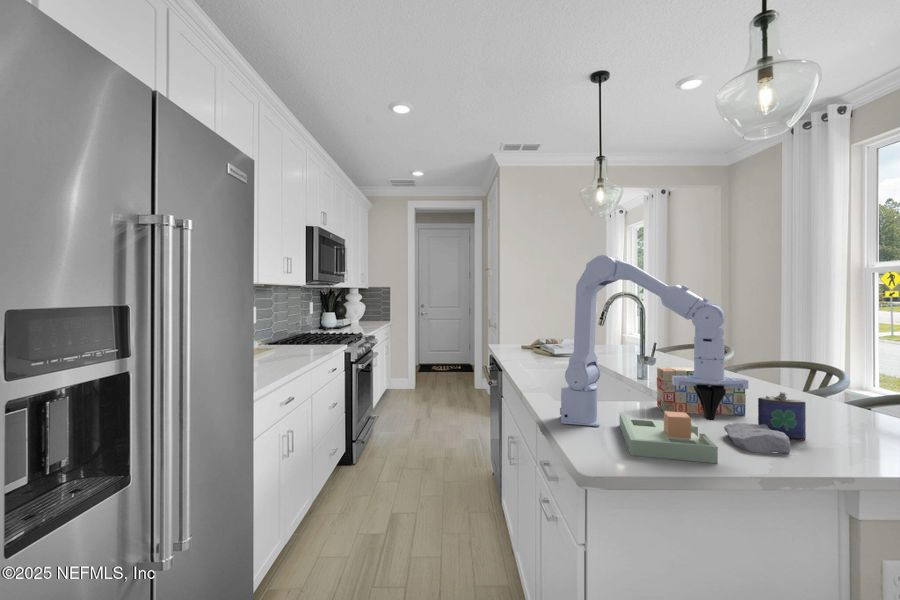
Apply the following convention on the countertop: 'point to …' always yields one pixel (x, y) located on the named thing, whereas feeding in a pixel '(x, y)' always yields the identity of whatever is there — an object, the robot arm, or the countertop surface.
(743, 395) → the stack of blocks
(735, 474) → the countertop surface
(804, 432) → the flask
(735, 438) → the stone block
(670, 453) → the board
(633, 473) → the countertop surface
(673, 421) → the block
